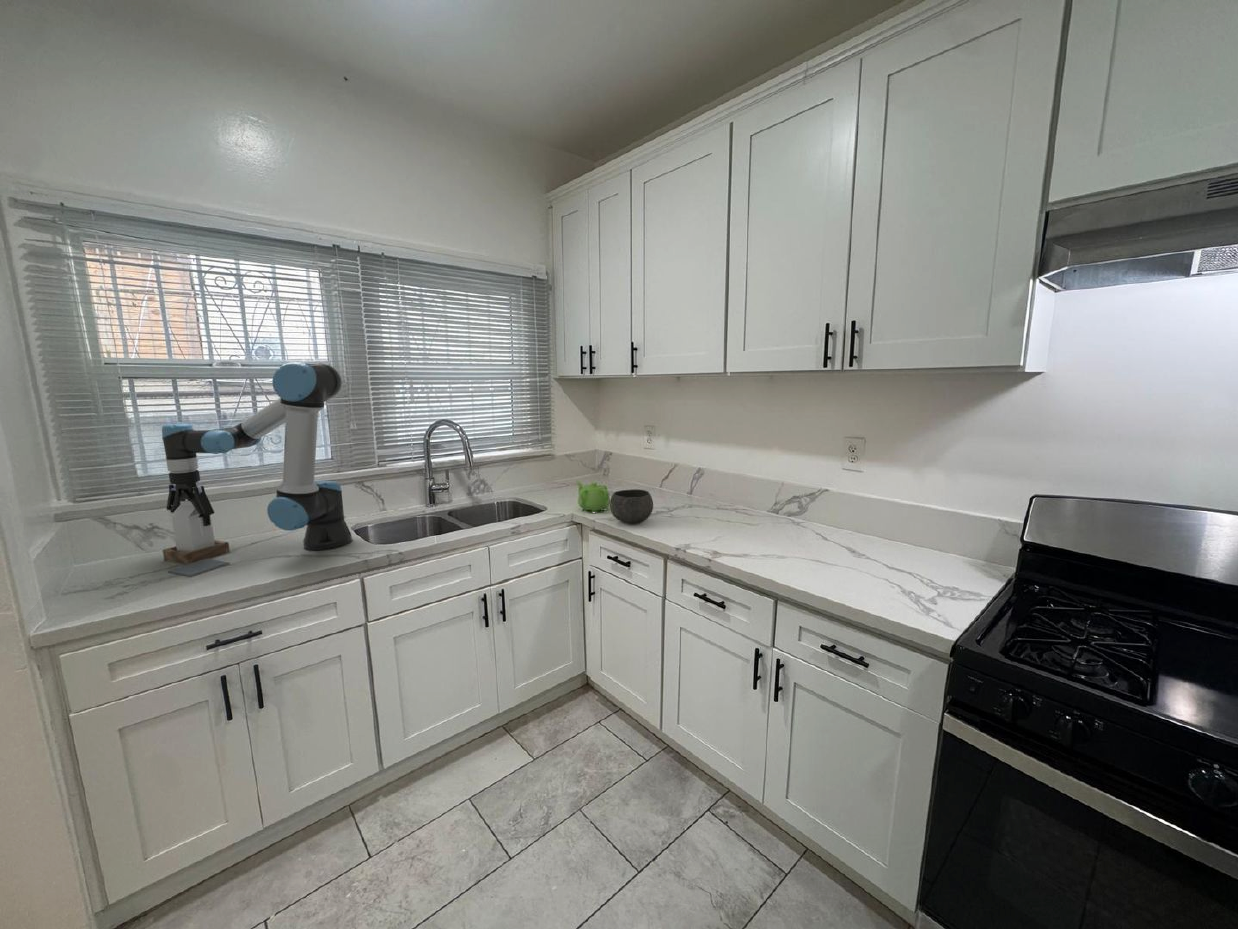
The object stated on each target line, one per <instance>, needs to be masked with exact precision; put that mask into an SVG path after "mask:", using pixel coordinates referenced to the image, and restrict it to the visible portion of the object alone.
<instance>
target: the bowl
mask: <svg viewBox="0 0 1238 929" xmlns="http://www.w3.org/2000/svg"><path fill="white" fill-rule="evenodd" d="M609 509H610V513H611V514H612V516H613V517H614V518H615V519H616V520H618V521H619V522H621V523H625V524H627V523H628V524H627V525H637V524H636V523H638V524H641V523H643V522H644V521H646V520H648V519H649V517H650V516H651V514H652V513H653V509H654V500H653V498H652V494H651V493H650V492H649V491H647V490H645V489H637V488H634V489H622V490H617V491H615V492H613V493H612V495H611V497H610V504H609Z"/></svg>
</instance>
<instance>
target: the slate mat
mask: <svg viewBox="0 0 1238 929" xmlns="http://www.w3.org/2000/svg"><path fill="white" fill-rule="evenodd" d="M229 565H230V561H225V560H224V561H223V560H218V559H212V558H209V559H208V558H207V559H204V560H200V561H197V562H194V563H191V564H184V565H180V566H178V567H174V568H172V569H169V570H167V573H168V574H174V575H178V576H182V577H183V576H184V577H186V578H187V577H188V578H193V577H195V576H199V575H201V574H204V573H207V572H210V571H213V570H217V569H219V568H222V567H225V566H229Z"/></svg>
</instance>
